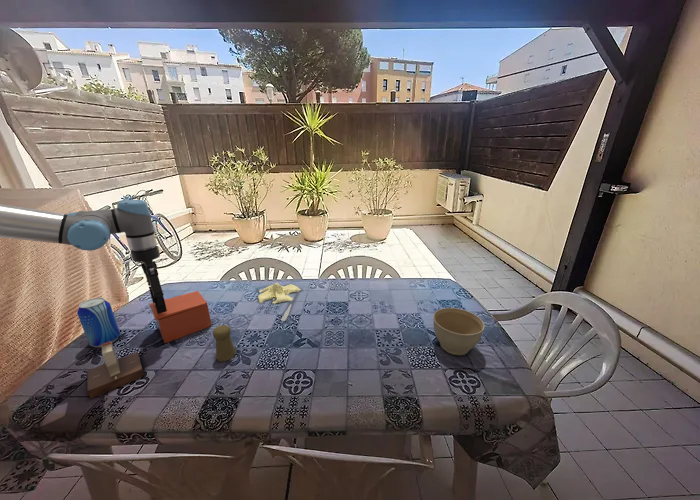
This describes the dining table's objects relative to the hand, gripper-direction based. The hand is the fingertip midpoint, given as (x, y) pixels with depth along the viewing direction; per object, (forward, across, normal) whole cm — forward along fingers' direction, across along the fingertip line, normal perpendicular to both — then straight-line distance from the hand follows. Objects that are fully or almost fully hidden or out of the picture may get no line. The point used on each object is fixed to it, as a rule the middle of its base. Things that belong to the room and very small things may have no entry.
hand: (159, 306), depth 97 cm
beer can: (+12, +10, +17) cm, 23 cm away
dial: (+9, -15, +15) cm, 23 cm away
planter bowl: (+12, -76, -73) cm, 106 cm away
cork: (+12, -27, -12) cm, 32 cm away
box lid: (+2, 0, -6) cm, 6 cm away
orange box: (+12, 0, -6) cm, 13 cm away
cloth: (+12, +1, -45) cm, 46 cm away
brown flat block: (+12, -15, +15) cm, 24 cm away
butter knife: (+12, -12, -45) cm, 48 cm away
